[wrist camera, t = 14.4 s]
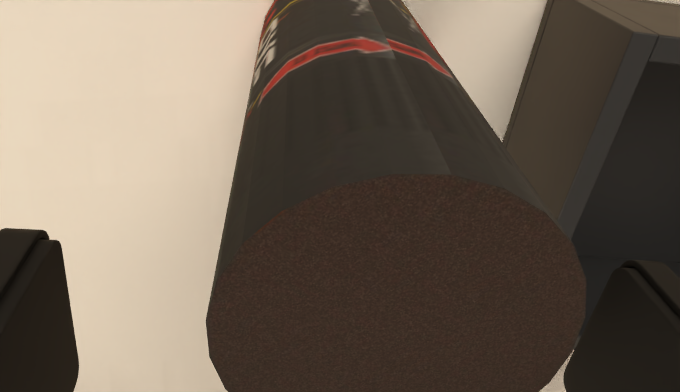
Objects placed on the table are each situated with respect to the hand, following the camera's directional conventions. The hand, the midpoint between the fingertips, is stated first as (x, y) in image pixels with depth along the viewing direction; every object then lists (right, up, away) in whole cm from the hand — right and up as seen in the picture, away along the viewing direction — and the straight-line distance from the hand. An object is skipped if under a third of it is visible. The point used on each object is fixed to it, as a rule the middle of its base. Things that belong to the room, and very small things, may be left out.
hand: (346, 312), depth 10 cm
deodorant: (0, +8, +12) cm, 14 cm away
